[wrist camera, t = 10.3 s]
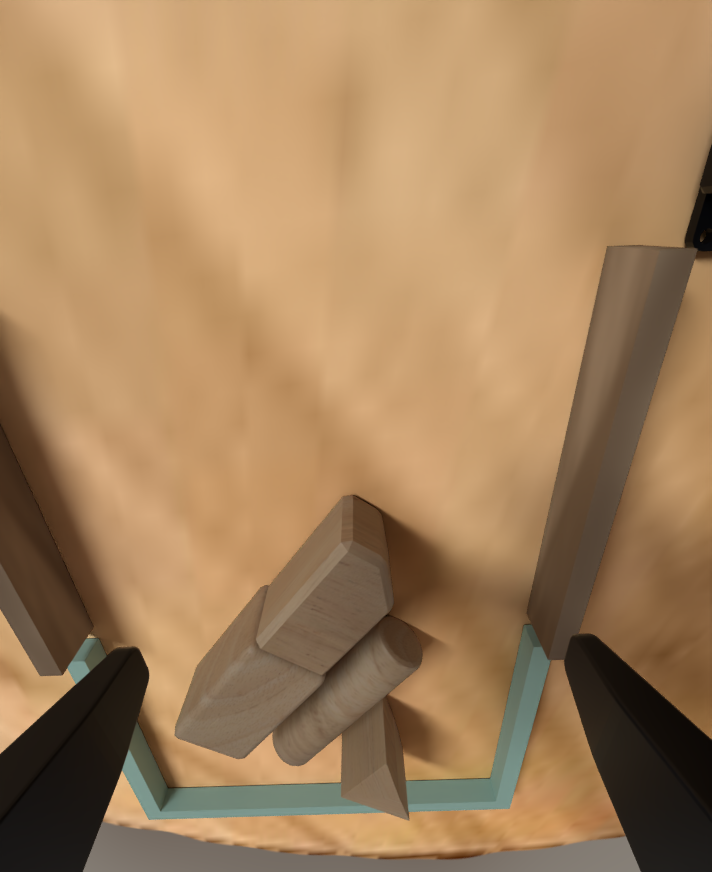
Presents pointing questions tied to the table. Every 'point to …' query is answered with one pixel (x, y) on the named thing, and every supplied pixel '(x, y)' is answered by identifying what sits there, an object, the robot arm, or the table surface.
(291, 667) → the wooden block set
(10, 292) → the table surface
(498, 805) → the frame
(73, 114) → the table surface
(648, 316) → the pair of brown bars
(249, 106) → the table surface
